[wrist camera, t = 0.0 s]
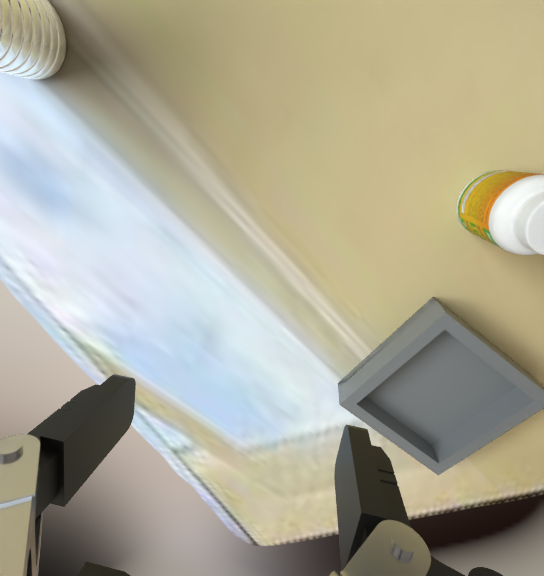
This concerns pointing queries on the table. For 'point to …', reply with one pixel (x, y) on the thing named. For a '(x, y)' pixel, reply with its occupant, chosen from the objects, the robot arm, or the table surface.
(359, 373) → the box
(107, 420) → the robot arm
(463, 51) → the table surface
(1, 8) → the water bottle
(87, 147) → the table surface
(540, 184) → the supplement bottle
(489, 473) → the table surface
